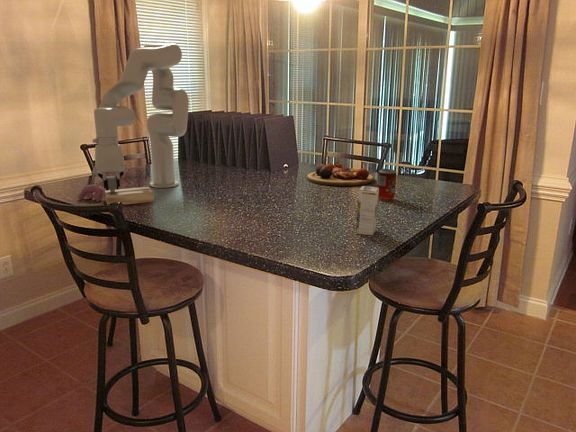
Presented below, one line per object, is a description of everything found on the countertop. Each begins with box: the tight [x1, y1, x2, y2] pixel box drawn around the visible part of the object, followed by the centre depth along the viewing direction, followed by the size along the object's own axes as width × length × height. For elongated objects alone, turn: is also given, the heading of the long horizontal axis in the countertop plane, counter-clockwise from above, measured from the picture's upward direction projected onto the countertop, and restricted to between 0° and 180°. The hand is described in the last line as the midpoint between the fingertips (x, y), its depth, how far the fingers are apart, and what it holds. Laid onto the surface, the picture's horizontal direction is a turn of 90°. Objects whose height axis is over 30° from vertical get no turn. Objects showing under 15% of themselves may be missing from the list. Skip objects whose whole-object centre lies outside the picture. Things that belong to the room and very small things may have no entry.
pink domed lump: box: [77, 184, 106, 203], centre depth 190 cm, size 10×5×7 cm, turn 72°
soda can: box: [377, 168, 398, 202], centre depth 194 cm, size 7×7×12 cm
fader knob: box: [106, 175, 117, 192], centre depth 184 cm, size 5×3×6 cm, turn 25°
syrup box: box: [355, 185, 379, 236], centre depth 153 cm, size 6×6×14 cm
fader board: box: [104, 186, 155, 205], centre depth 188 cm, size 9×17×4 cm, turn 115°
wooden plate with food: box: [306, 161, 375, 187], centre depth 231 cm, size 32×32×8 cm
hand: (112, 188), depth 185 cm, fingers closed on fader knob, 3 cm apart
